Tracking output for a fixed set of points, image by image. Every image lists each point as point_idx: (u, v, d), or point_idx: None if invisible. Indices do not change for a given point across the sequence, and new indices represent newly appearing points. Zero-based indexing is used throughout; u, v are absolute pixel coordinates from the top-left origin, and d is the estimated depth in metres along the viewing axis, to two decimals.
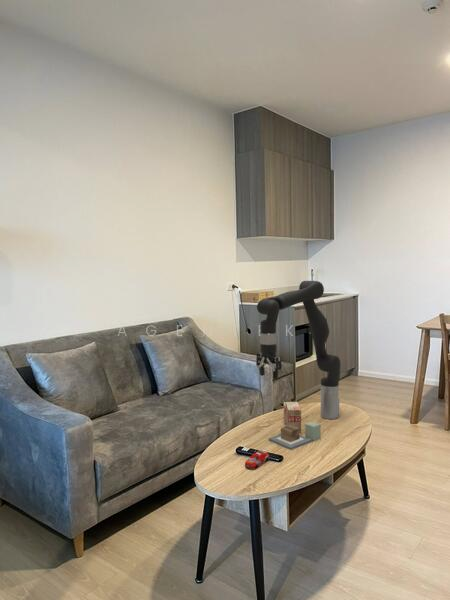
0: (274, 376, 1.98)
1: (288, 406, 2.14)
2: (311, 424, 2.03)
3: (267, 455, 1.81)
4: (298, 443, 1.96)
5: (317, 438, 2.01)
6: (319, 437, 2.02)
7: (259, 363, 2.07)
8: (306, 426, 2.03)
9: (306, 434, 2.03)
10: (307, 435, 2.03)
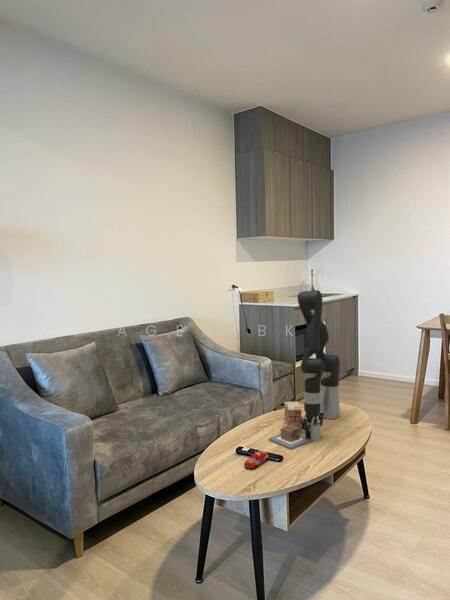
0: None
1: (289, 406, 2.14)
2: None
3: (266, 455, 1.81)
4: (298, 443, 1.96)
5: (316, 438, 2.01)
6: (318, 437, 2.02)
7: None
8: None
9: (305, 434, 2.03)
10: None
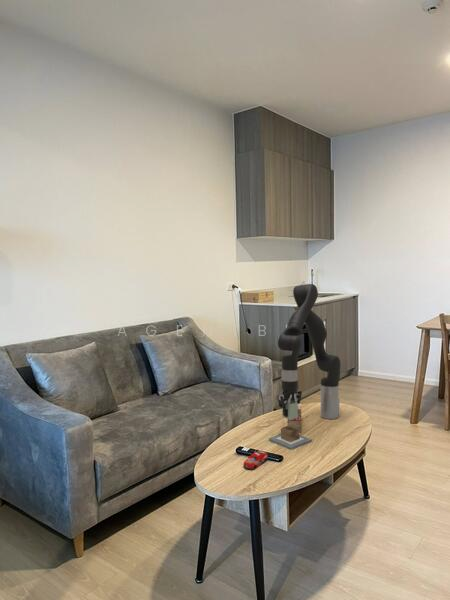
0: None
1: None
2: None
3: (266, 455, 1.81)
4: (298, 443, 1.96)
5: (294, 416, 1.98)
6: (296, 415, 1.99)
7: None
8: None
9: None
10: None
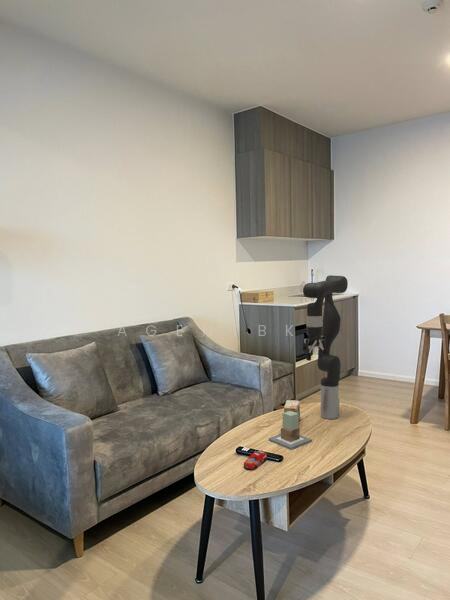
0: None
1: (286, 404, 2.16)
2: (289, 413, 2.00)
3: (265, 455, 1.81)
4: (298, 443, 1.96)
5: (294, 427, 1.99)
6: (297, 426, 2.00)
7: None
8: (283, 415, 2.00)
9: (283, 423, 2.00)
10: (284, 424, 2.00)
